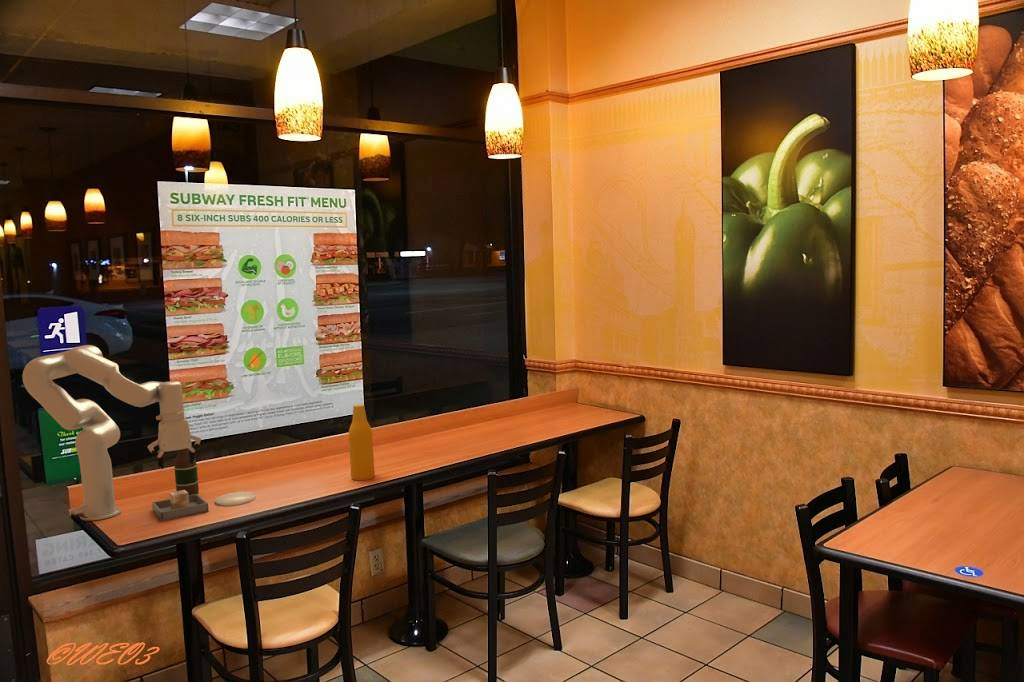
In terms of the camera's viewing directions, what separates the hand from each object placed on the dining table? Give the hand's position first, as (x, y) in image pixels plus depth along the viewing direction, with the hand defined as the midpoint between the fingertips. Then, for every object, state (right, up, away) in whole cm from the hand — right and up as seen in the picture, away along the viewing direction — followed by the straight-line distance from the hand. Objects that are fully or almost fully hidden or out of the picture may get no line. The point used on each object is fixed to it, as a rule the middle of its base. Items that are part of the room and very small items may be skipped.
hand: (176, 465), depth 269 cm
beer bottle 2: (+58, -11, +36) cm, 69 cm away
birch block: (+1, -16, +2) cm, 16 cm away
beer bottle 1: (-5, -15, +22) cm, 27 cm away
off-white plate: (+16, -15, +13) cm, 25 cm away
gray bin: (+1, -16, +2) cm, 16 cm away
